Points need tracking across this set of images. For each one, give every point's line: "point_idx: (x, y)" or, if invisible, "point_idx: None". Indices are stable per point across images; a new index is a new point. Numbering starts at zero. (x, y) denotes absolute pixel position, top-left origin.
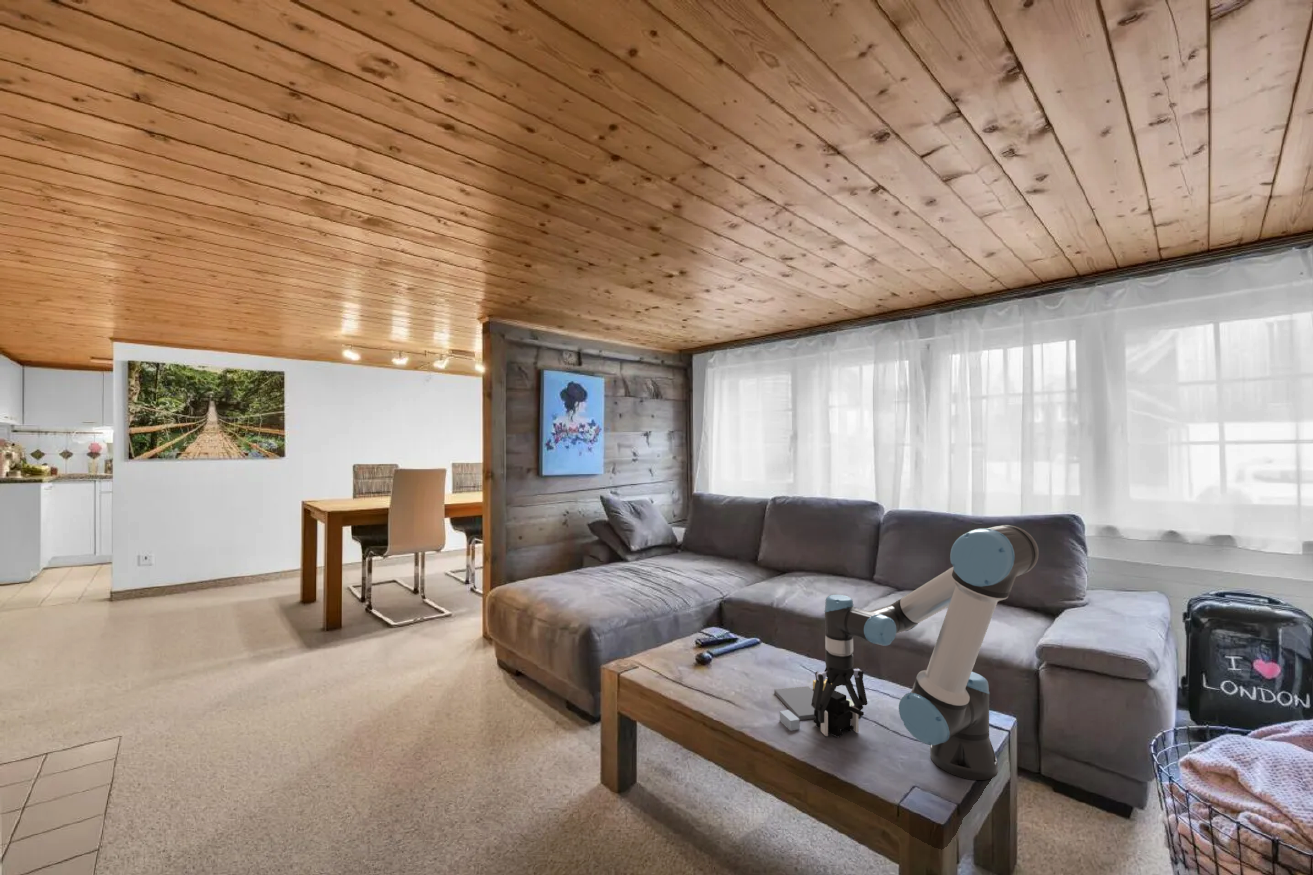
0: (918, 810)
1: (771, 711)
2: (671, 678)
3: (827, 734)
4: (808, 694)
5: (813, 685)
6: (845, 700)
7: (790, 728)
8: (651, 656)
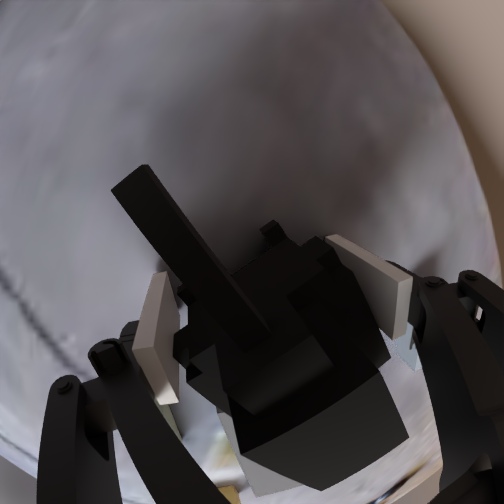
0: None
1: (411, 381)
2: None
3: (330, 237)
4: (275, 474)
5: (239, 500)
6: (260, 399)
7: None
8: None
